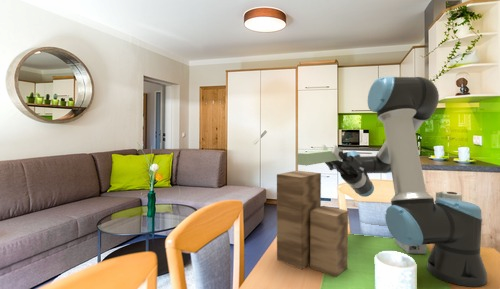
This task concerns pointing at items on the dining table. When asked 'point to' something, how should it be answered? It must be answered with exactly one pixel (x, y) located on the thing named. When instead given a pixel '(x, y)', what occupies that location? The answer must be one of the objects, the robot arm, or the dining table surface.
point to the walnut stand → (309, 225)
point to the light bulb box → (413, 248)
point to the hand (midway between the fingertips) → (328, 148)
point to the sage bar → (315, 157)
